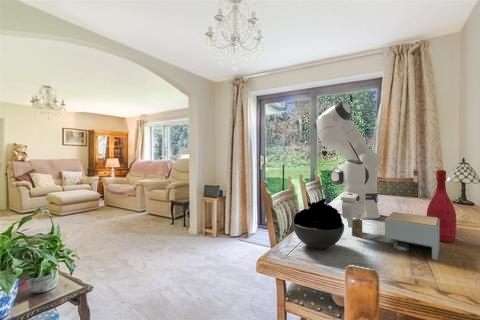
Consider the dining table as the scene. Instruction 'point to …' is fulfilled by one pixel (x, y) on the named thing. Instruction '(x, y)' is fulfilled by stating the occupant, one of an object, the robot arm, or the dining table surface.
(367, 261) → the dining table surface
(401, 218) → the cabinet
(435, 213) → the wine bottle
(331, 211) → the coal bowl
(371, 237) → the wood-handled metal tool
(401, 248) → the steel puck
